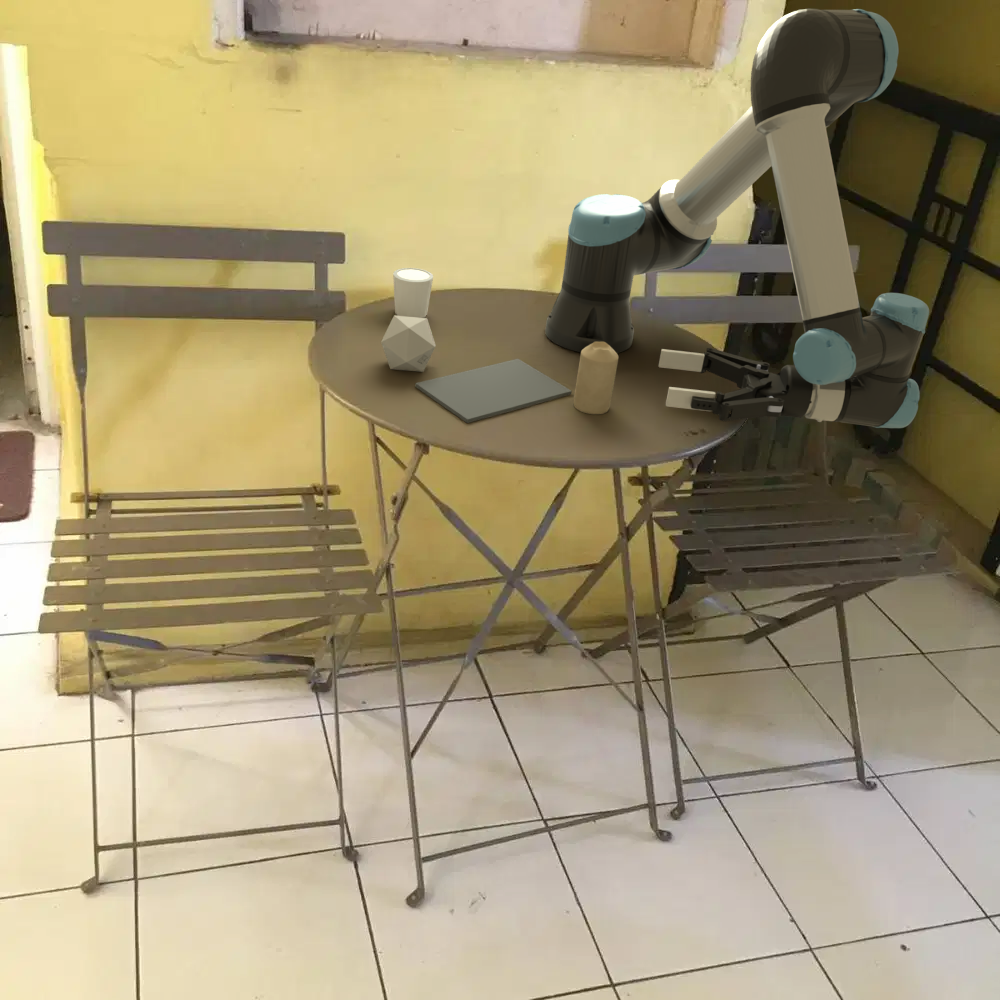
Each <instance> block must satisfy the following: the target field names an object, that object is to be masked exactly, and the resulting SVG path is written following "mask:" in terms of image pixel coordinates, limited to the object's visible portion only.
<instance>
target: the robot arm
mask: <svg viewBox="0 0 1000 1000" xmlns="http://www.w3.org/2000/svg"><path fill="white" fill-rule="evenodd" d="M896 35H897V34H896V32H895V30H894V28H893V27H892V25H891V23H890V22H889V21H888V20H887V19H886V18H885V17H883V16H882V15H880V14H879V13H875V12H873V11H867V10H865V9H861V8H856V9H819V8H805V9H798V10H797V9H796V10H793V11H792V12H790V13H787V14H785V15H783V16H782V17H780V18H779V19H778V20H776V21H775V22H774V23H772V25H771V26H770V27H769V28H768V29H767V30H766V32H765V34H764V35H763V37H762V38H761V39H760V41H759V43H758V45H757V48H756V51H755V53H754V57H753V60H752V65H751V72H750V87H749V88H750V89H749V91H750V103H751V106H749V108H748V109H747V110H746V111H745V112H744V113H743V114H742V115H741V116H740V117H739V118H738V119H737V121H735V123H734V124H733V125H732V126H731V127H730V128H729V129H728V130H727V131H726V132H725V133H724V134H723V135H722V136H721V137H720V138H719V139H718V140H717V141H716V142H715V143H714V144H713V145H712V146H711V148H710V149H708V151H707V152H706V153H705V154H704V155H703V156H702V157H701V158H700V159H699V160H698V161H697V162H696V163H695V164H694V165H693V166H692V167H691V168H690V169H689V171H688V172H687V173H686V174H684V176H682V178H681V179H674V178H673V179H669V180H667V181H666V182H664V183H663V184H662V186H661V187H659V189H658V190H657V191H656V192H655V193H654V194H653V195H652V196H651V197H650V198H649V199H648V200H646V201H644V202H642V201H640V200H639V199H638V198H635V197H632V196H629V195H625V194H618V193H614V194H609V193H604V194H603V193H602V194H601V193H600V194H596V195H591V196H588V197H584V198H583V199H581V200H580V201H579V202H578V203H576V205H575V206H574V208H573V210H572V214H571V219H570V223H569V226H568V231H567V233H568V234H567V236H568V238H567V245H566V250H565V257H564V258H565V260H564V267H563V273H562V274H563V275H562V282H561V289H560V291H559V294H558V296H557V298H556V299H555V302H554V304H553V307H552V309H551V311H550V312H549V314H548V316H547V318H546V323H545V329H544V330H545V332H544V333H545V336H546V337H547V339H549V340H550V341H551V342H553V344H555V345H557V346H560V347H562V348H564V349H567V350H570V351H574V352H578V353H581V351H582V350H583V349H584V348H585V347H587V346H589V345H590V344H592V343H594V342H606V343H607V344H608V345H609V346H610V347H611V348H612V349H613V350H614V351H615V352H616V353H617V354H618V353H622V352H624V351H627V350H629V349H630V348H631V346H632V345H633V341H634V340H633V339H634V335H635V334H634V333H635V329H634V325H633V323H632V308H631V302H630V301H631V300H630V298H631V292H632V287H633V282H634V277H635V276H638V275H639V276H640V275H643V274H649V273H654V272H660V271H666V270H678V269H682V268H685V267H687V266H690V265H691V264H692V265H693V264H694V263H696V262H697V261H699V260H701V258H703V256H704V255H705V254H707V252H708V250H709V249H710V247H711V244H712V242H713V240H712V239H711V238H712V236H713V235H714V233H715V232H716V230H717V227H718V226H717V225H718V217H719V216H721V215H722V213H724V211H726V209H728V208H729V207H730V206H731V205H732V204H733V203H734V202H735V201H736V200H737V199H738V198H739V197H740V196H741V195H743V194H744V193H745V192H746V191H747V190H748V189H749V188H750V187H751V186H752V185H753V184H754V183H755V182H757V180H759V178H760V177H762V176H763V174H764V173H766V172H767V171H768V170H769V169H770V168H772V174H773V179H774V183H775V188H776V193H777V198H778V203H779V209H780V215H781V219H782V224H783V229H784V234H785V239H786V244H787V249H788V253H789V258H790V262H791V263H790V264H791V268H792V269H791V270H792V273H793V279H794V284H795V288H796V295H797V298H798V304H799V309H800V314H801V319H802V323H803V330H804V333H803V334H801V336H800V337H799V338H798V339H797V340H796V342H795V345H794V349H793V354H792V361H793V364H786V365H784V366H783V367H782V368H781V369H780V371H779V372H778V373H773V372H769V369H770V363H768V362H764V361H758V360H753V359H750V358H746V357H742V356H739V355H736V354H733V353H729V352H726V351H722V350H719V349H715V348H711V347H707V348H706V351H704V352H703V353H699V352H692V351H691V352H690V351H683V350H673V349H665V348H661V351H660V356H659V361H658V367H659V368H664V369H673V370H681V371H690V372H698V373H700V374H704V373H705V372H709V373H711V374H713V375H715V376H719V377H721V378H723V379H725V380H727V381H730V382H733V383H734V384H736V386H737V388H738V390H737V389H736V390H734V391H730V392H726V393H723V392H721V391H719V390H717V392H716V391H709V390H699V389H694V388H693V389H692V388H691V389H690V388H685V387H684V388H683V387H674V386H673V387H672V386H669V387H668V389H667V395H666V400H665V407H668V408H669V407H670V408H679V409H688V410H695V411H704V412H705V411H706V412H712V413H713V414H714V415H717V416H718V420H719V421H721V422H729V421H736V420H739V421H740V420H746V419H752V418H754V419H755V418H762V417H771V418H772V417H773V418H779V417H789V418H798V419H801V418H802V417H805V418H806V419H810V420H816V422H819V423H822V421H825V422H826V421H827V422H836V423H844V424H851V425H852V424H853V425H861V426H867V427H872V428H876V429H880V428H881V429H882V428H884V429H885V428H886V429H903V428H906V427H907V426H909V425H910V424H911V423H912V422H913V421H914V419H915V417H916V415H917V412H918V410H919V401H920V394H921V393H920V387H919V385H918V383H917V382H916V380H914V379H912V378H910V377H909V376H910V373H911V370H912V367H913V365H914V362H915V359H916V356H917V353H918V351H919V348H920V345H921V342H922V340H923V336H924V335H925V333H926V327H927V322H928V319H929V315H930V309H929V306H928V304H927V303H925V302H924V301H923V300H921V299H920V298H917V297H914V296H912V295H908V294H904V293H899V292H886V293H881V294H880V295H878V296H877V297H876V299H875V301H874V303H873V305H872V307H871V308H870V315H868V316H864V317H863V315H862V311H861V307H860V303H859V296H858V290H857V286H856V282H855V281H856V280H855V274H854V268H853V263H852V258H851V253H850V248H849V244H848V238H847V237H848V236H847V233H846V227H845V223H844V218H843V216H844V215H843V211H842V206H841V202H840V196H839V190H838V186H837V184H838V183H837V179H836V175H835V170H834V164H833V159H832V154H831V149H830V142H829V138H828V132H827V128H828V127H830V125H832V124H833V123H834V122H835V121H836V120H837V119H838V118H839V117H840V116H842V115H843V113H845V112H846V111H847V110H848V109H849V108H850V107H851V106H852V105H853V104H855V103H865V102H866V103H867V102H868V101H870V100H873V99H875V98H877V97H878V96H880V95H881V94H882V93H883V92H884V91H885V90H886V89H887V87H888V86H889V85H890V84H891V82H892V81H893V79H894V77H895V74H896V70H897V67H898V58H899V43H898V37H897V36H896Z"/></svg>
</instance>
